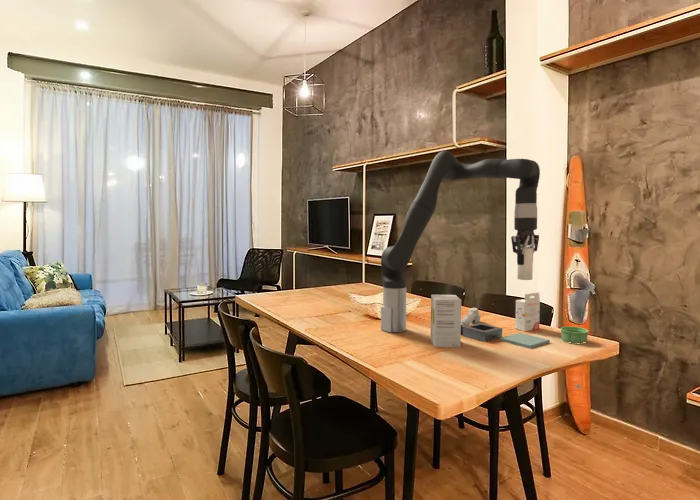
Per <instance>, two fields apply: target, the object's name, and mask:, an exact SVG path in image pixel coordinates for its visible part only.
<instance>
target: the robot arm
mask: <svg viewBox="0 0 700 500" xmlns="http://www.w3.org/2000/svg"><path fill="white" fill-rule="evenodd" d="M540 175H541V169H540V166H539V163H537V162H536V161H535V160H534V159H533V160H532V159H528V158H513V159H512V158H511V159H505V158H486V159H483V160H480V161H478V162H474V163H465V162H460V161H458V159H457V158H456V157H455V156H454V154H453V153H452V152H451V151H449V150H442V151H439V152H438V153H437V154H436V155H435V156H434V158H433V159H432V161H431V163H430V166H429V167H428V171H427V172H426V175H425V178H424V180H423V183H422V184H421V186H420V188H419V190H418V192H417V194H416V196H415V198H414V199H413V201H412V202H411V204H410V207H409V209H408V210H407V213H406V215H405V218H404V222H403V228H402V231H401V233H400V236H399V237H398V239H397V241H396V243H395V244H394V245H390V246H388V247H386V248H384V249H383V251H382V252H381V253H382V254H381V257H380V260H381V261H380V268H381V269H380V271H381V272H380V273H381V275H380V276H381V281H382V305H381V306H380V330H382V331H385V332H388V333H402V332H405V331H407V280H406V277H405V274H404V270H405V268H406V267H407V266H408V265H409V263H410V260H411V258H412V255H413V253H414V251H415V248H416V246H417V243H418V241H419V240H420V238H421V236H422V235H423V232H424V231H425V229H426V227H427V226H428V223H429V222H430V220H431V219H432V217H433V214H435V210H436V208H437V202H438V196H439V188H440V185H441V183H442V181H443V180H444V181H457V180H467V179H476V178H478V179H480V178H481V179H482V178H483V179H487V178H488V179H515V180H517V179H518V180H519V182H518V183H519V184H518V187H517V188H516V190H515V194H514V195H515V196H514V197H515V200H514V202H515V205H514V221H513V222H514V226H513V227H514V230H515V231H517V232H516V235H512V236H511V237H510V239H511V240H510V241H511V247H512V252H513V253H514V254H516V255H517V257H516V259H517V260H516V261H517V264H516V265H517V266H518V265H524V255H523V254H524V251H525V248H533V254H535V252H537V251H538V248H539V240H540V235H539V234H535V231H537V229H538V207H537V206H538V205H537V202H538V201H537V198H538V194H537V191H538V186H539V181H540V177H541V176H540ZM521 248H522V250H521Z"/></svg>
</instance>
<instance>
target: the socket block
mask: <svg viewBox="0 0 700 500" xmlns="http://www.w3.org/2000/svg"><path fill="white" fill-rule="evenodd" d="M462 336H463V337H466V338H469V339H471V340H472V339H473V340H476V341H480V342H484V343H487V342H491V341H494V340H497V339H500V338H501V337H503V327H499V326H495V325H491V324H488V323H487V324H486V323H483V322H482V323H481V322H479V323H472V324H470V325H469V326H464V327H463V334H462Z"/></svg>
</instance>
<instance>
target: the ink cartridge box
mask: <svg viewBox="0 0 700 500" xmlns="http://www.w3.org/2000/svg"><path fill="white" fill-rule="evenodd" d="M540 305H541V300H540V293H539V292H534V293H533V292H532V293H525V294H524V299H516V300H515V329H516V330H520V331H523V332H529V331H533V330H538V329H540V311H541V310H540V309H541V306H540Z"/></svg>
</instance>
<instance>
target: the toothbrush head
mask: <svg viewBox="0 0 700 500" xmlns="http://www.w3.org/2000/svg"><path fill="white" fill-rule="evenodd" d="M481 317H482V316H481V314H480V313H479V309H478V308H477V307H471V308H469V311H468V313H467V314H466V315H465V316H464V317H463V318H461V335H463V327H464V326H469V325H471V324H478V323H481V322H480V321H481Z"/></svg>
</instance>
